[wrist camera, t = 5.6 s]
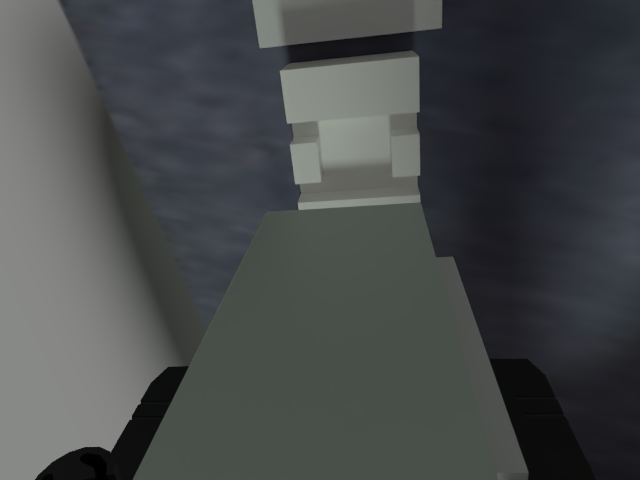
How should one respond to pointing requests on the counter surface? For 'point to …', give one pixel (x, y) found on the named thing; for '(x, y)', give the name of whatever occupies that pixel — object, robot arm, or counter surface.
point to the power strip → (354, 129)
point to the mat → (340, 19)
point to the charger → (328, 362)
